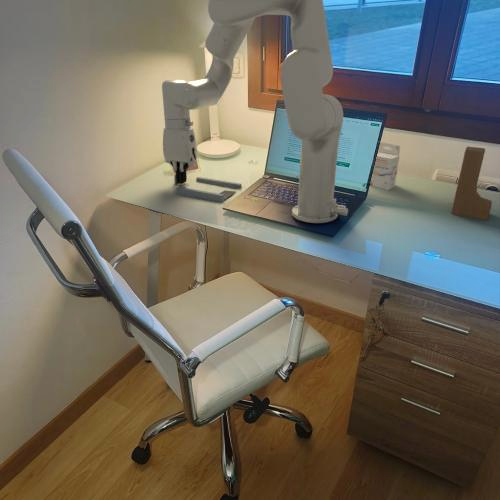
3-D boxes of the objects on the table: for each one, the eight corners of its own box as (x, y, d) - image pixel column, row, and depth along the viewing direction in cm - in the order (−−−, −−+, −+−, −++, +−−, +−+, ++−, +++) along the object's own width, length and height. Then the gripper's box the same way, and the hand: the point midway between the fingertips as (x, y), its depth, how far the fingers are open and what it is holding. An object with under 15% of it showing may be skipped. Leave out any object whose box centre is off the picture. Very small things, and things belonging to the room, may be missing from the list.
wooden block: (488, 215, 120) (505, 150, 112) (487, 221, 116) (505, 154, 108) (452, 210, 124) (466, 146, 116) (450, 215, 120) (465, 149, 112)
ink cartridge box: (361, 190, 139) (367, 143, 132) (369, 186, 142) (375, 140, 136) (386, 196, 134) (393, 148, 127) (394, 192, 137) (401, 145, 130)
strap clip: (190, 187, 142) (190, 175, 140) (183, 189, 140) (182, 176, 138) (175, 181, 148) (174, 169, 146) (167, 183, 146) (166, 171, 144)
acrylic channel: (241, 189, 139) (241, 183, 138) (222, 202, 129) (222, 195, 128) (198, 182, 146) (198, 176, 145) (176, 194, 136) (176, 187, 135)
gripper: (205, 123, 133) (207, 182, 141) (164, 119, 138) (169, 176, 147) (191, 128, 127) (195, 189, 135) (149, 123, 132) (155, 182, 141)
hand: (181, 182), depth 141 cm, fingers closed
